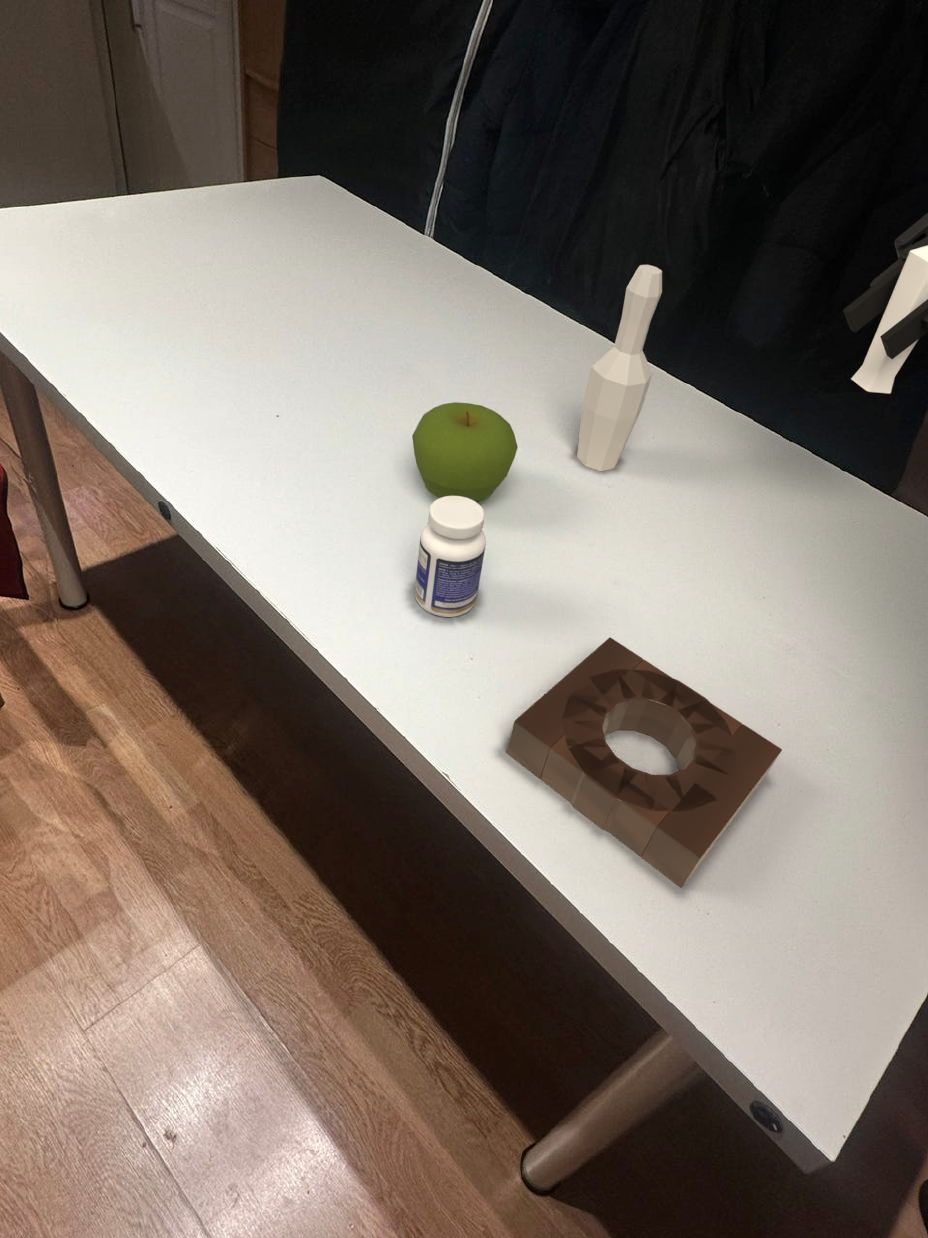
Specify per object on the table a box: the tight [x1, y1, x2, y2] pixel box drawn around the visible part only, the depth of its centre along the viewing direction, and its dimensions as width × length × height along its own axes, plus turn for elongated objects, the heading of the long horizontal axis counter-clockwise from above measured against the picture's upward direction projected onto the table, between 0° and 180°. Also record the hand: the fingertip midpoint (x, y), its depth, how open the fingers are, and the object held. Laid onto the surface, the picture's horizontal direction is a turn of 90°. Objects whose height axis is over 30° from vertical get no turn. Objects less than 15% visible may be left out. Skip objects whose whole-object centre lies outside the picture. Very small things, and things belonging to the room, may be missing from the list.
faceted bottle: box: [576, 264, 663, 472], centre depth 88 cm, size 6×6×22 cm
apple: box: [411, 401, 519, 502], centre depth 84 cm, size 11×10×10 cm
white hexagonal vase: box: [850, 245, 928, 394], centre depth 75 cm, size 5×4×15 cm
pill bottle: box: [414, 496, 487, 618], centre depth 72 cm, size 6×6×10 cm
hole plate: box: [505, 637, 783, 889], centre depth 63 cm, size 16×13×4 cm
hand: (867, 334), depth 75 cm, fingers closed on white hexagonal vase, 5 cm apart
